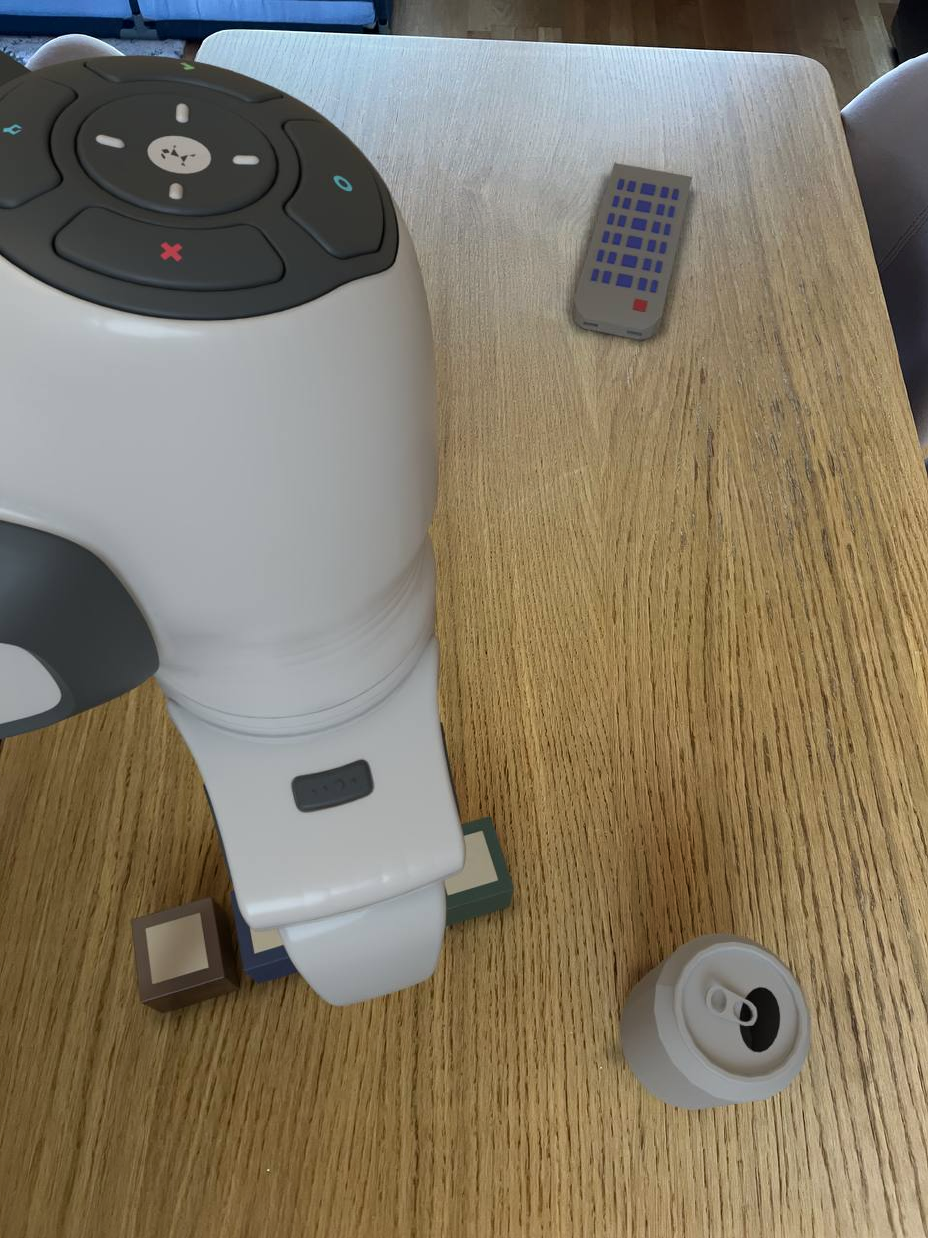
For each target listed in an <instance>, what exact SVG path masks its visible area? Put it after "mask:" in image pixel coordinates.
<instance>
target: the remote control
mask: <svg viewBox="0 0 928 1238" xmlns="http://www.w3.org/2000/svg"><path fill="white" fill-rule="evenodd" d="M692 180H693V176H689V175H684V174H679V173H673V172H668V171H661V170H656V169H652V168H646V167H645V168H644V167H640V166H635V165H629V164H624V163H618V162H614V163H613V165H612V169H611V172H610V176H609V179H608V183H607V186H606V190H605V193H604V196H603V199H602V203H601V206H600V210H599V213H598V217H597V220H596V223H595V226H594V230H593V233H592V235H591V236H592V237H591V240H590V243H589V246H588V250H587V253H586V256H585V259H584V264H583V266H582V269H581V273H580V277H579V280H578V284H577V287H576V291H575V293H574V298H573V304H572V310H571V316H572V319H573V321H574V323H575V324H576V325H578V326H579V327H580V328H582V329H585V330H590V331H594V332H599V333H605V334H610V335H615V336H619V337H624V338H628V339H629V338H630V339H635V340H639V341H640V340H646V339H650V338H652V337H653V336H654V335H655V334H656V333H657V332H658V331H659V327H660V323H661V320H662V316H663V311H664V307H665V303H666V298H667V294H668V289H669V284H670V279H671V276H672V271H673V266H674V261H675V257H676V253H677V248H678V244H679V239H680V234H681V230H682V226H683V221H684V216H685V212H686V207H687V203H688V199H689V195H690V189H691V185H692Z"/></svg>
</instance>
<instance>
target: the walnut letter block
mask: <svg viewBox="0 0 928 1238" xmlns="http://www.w3.org/2000/svg"><path fill="white" fill-rule="evenodd" d="M130 924H131V925H130V926H131V935H132V942H133V952H134V959H135V968H136V976H137V977H136V978H137V986H138V991H139V992H138V993H139V1002H140V1004H143V1005H145V1006H147V1007H148V1008H150V1009H153V1010H155V1011H156V1012H158V1013H160V1014H166V1013H169V1012H173V1011H177V1010H180V1009H182V1008H186V1007H189V1006H192V1005H197V1004H199V1003H202V1002H205V1001H209V1000H211V999H215V998H218V997H221V996H225V995H228V994H231V993H235V992H238V991H240V990H241V986H240V980H239V974H238V967H237V961H236V956H235V955H236V954H235V949H234V944H233V938H232V931H231V926H230V920H229V915H228V912H226V910H225V909H224V908H223V907H222V906H221V905H220V904H219V903H218V902H217V900H215V898H214V897H213V896H208V897H204V898H201V899H198V900H194V901H190V902H187V903H184V904H179V905H177V906H172V907H170V908H166V909H162V910H160V911H159V910H158V911H156V912H152V913H149V914H145V915H142V916H141V915H140V916H137V917H134V918H131V919H130Z"/></svg>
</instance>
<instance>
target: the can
mask: <svg viewBox="0 0 928 1238" xmlns="http://www.w3.org/2000/svg"><path fill="white" fill-rule="evenodd" d="M811 1019H812V1016H811V1014H810V1009H809V1006H808V1003H807V999H806V995H805V993H804V990H803V988H802V986H801V985H800V983H799V982H798V980H797V978H796V977H795V975H794V974H793V972H792V970H791V969H790V967H789V966H788V965H787V964H786V963H785V962H784V961H783V960H782V959H780V957H779V956H778V955H776V953H774V952H773V951H772V950H771V949H770V948H768V947H766V946H764V945H762V944H761V943H759V942H757V941H755V940H753V939H752V938H750V937H747V936H743V935H737V934H734V933H733V934H732V933H728V932H717V933H709V934H701V935H699V936H697V937H695V938H694V939H691V940H689V941H686V942H685V943H683V944H681V945H680V946H679V947H677V948H676V949H675V950H674V951H673V952H672V953H670V954H669V955H668V956H667V957H665V958H664V959H663V960H662V961H661V962H660V963H658V964H656V966H654V967H653V969H651V970H649V972H647V973H646V974H645V975H644V976H642V978H641V979H640V980H639V981H638V982H637V984H635V985H634V987H632V989H631V990H630V991H629V992H628V995H627V998H626V1000H625V1002H624V1004H623V1007H622V1009H621V1018H620V1026H619V1035H620V1036H619V1037H620V1041H621V1046H622V1047H621V1048H622V1053H623V1056H624V1058H625V1060H626V1062H627V1064H628V1066H629V1068H630V1070H631V1072H632V1074H633V1076H634V1078H635V1079H636V1080H637V1081H638V1082H639V1083H640V1084H641V1085H642V1086H643V1088H644V1089H645V1090H646V1091H647V1092H648V1093H649V1094H650V1095H651V1096H653V1097H654V1098H656V1099H658V1100H659V1101H661V1102H663V1103H664V1104H667V1106H670V1107H674V1108H679V1109H683V1110H686V1111H687V1110H688V1111H692V1112H693V1111H699V1110H706V1109H713V1108H720V1107H727V1106H734V1105H739V1104H740V1105H741V1104H746V1103H752V1102H759V1101H767V1100H768V1099H770V1098H772V1097H774V1096H775V1095H777V1094H779V1093H780V1092H782V1091H784V1090H786V1089H788V1088H789V1086H791V1084H792V1083H793V1082H794V1081H795V1078H797V1076H798V1075H799V1074H800V1072H802V1070H803V1069H804V1066H805V1062H806V1060H807V1057H808V1053H809V1051H810V1048H811V1044H812V1038H811V1037H812V1022H811V1021H812V1020H811Z"/></svg>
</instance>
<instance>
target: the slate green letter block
mask: <svg viewBox="0 0 928 1238" xmlns="http://www.w3.org/2000/svg"><path fill="white" fill-rule="evenodd" d="M461 827H462V831H463V835H464V839H465V845H466V860H465V865H464V868H463V870H462V872H461V873H459V874H457V875H455V876H453V877H451V878H448V879H446V880H444V882H445V894H446V925H445V928H446V927H450V926H453V925H456V924H459V923H462V922H466V921H469V920H473V919H476V918H479V917H482V916H485V915H488V914H491V913H495V912H499V911H501V910H505V909H508V908H509V907H510V905H511V901H512V898H513V894H514V892H515V887H514V883H513V881H512V877H511V874H510V871H509V868H508V865H507V862H506V859H505V856H504V853H503V849H502V847H501V844H500V841H499V837H498V834H497V830H496V828H495V826H494V822H493V819H492V816H491V815H489V816H485V817H482V818H478V819H474V820H471V821H467V822H464V823H461Z"/></svg>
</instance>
